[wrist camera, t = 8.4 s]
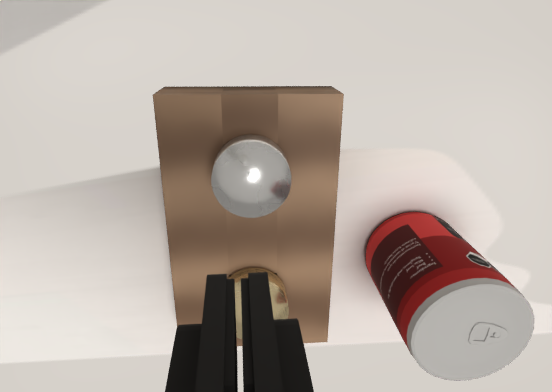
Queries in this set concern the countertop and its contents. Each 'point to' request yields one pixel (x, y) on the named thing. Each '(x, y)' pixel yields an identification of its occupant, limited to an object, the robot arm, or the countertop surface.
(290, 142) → the button block
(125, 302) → the countertop surface
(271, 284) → the brass button
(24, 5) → the countertop surface
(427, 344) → the canned food
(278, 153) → the steel button
